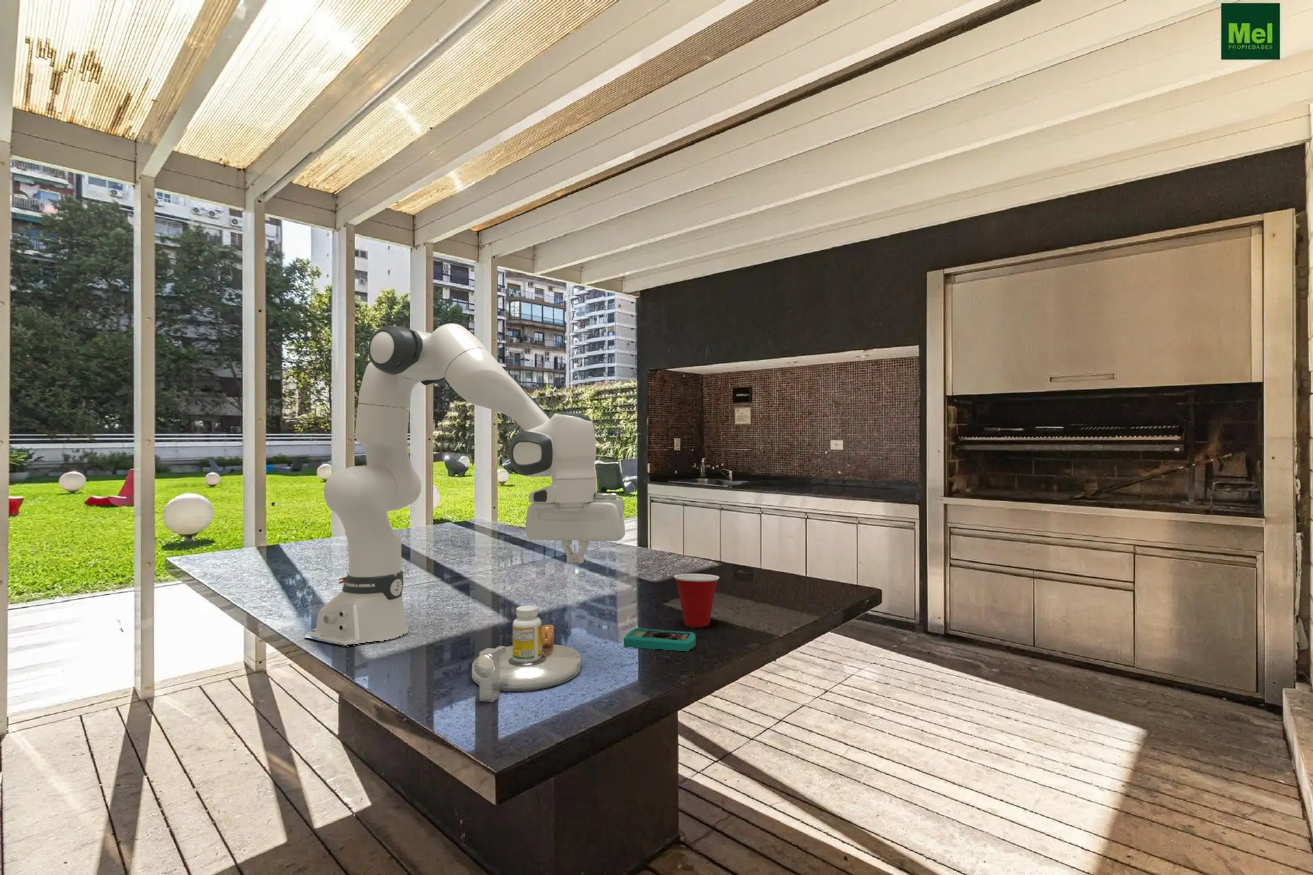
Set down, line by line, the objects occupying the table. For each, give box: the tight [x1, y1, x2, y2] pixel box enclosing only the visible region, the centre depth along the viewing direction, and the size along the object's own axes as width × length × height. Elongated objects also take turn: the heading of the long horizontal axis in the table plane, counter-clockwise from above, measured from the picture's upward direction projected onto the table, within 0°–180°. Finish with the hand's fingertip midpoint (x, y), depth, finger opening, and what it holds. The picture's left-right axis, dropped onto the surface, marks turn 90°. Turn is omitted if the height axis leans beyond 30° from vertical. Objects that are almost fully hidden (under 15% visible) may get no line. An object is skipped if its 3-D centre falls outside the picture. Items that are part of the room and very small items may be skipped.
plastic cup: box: [673, 573, 720, 627], centre depth 146 cm, size 11×11×12 cm
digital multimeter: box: [623, 627, 696, 652], centre depth 131 cm, size 7×15×3 cm, turn 74°
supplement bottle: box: [512, 605, 542, 663], centre depth 116 cm, size 5×5×10 cm
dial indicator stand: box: [473, 645, 507, 703], centre depth 104 cm, size 4×6×8 cm, turn 164°
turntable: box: [471, 624, 582, 692], centre depth 116 cm, size 20×20×6 cm
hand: (575, 563), depth 121 cm, fingers closed
